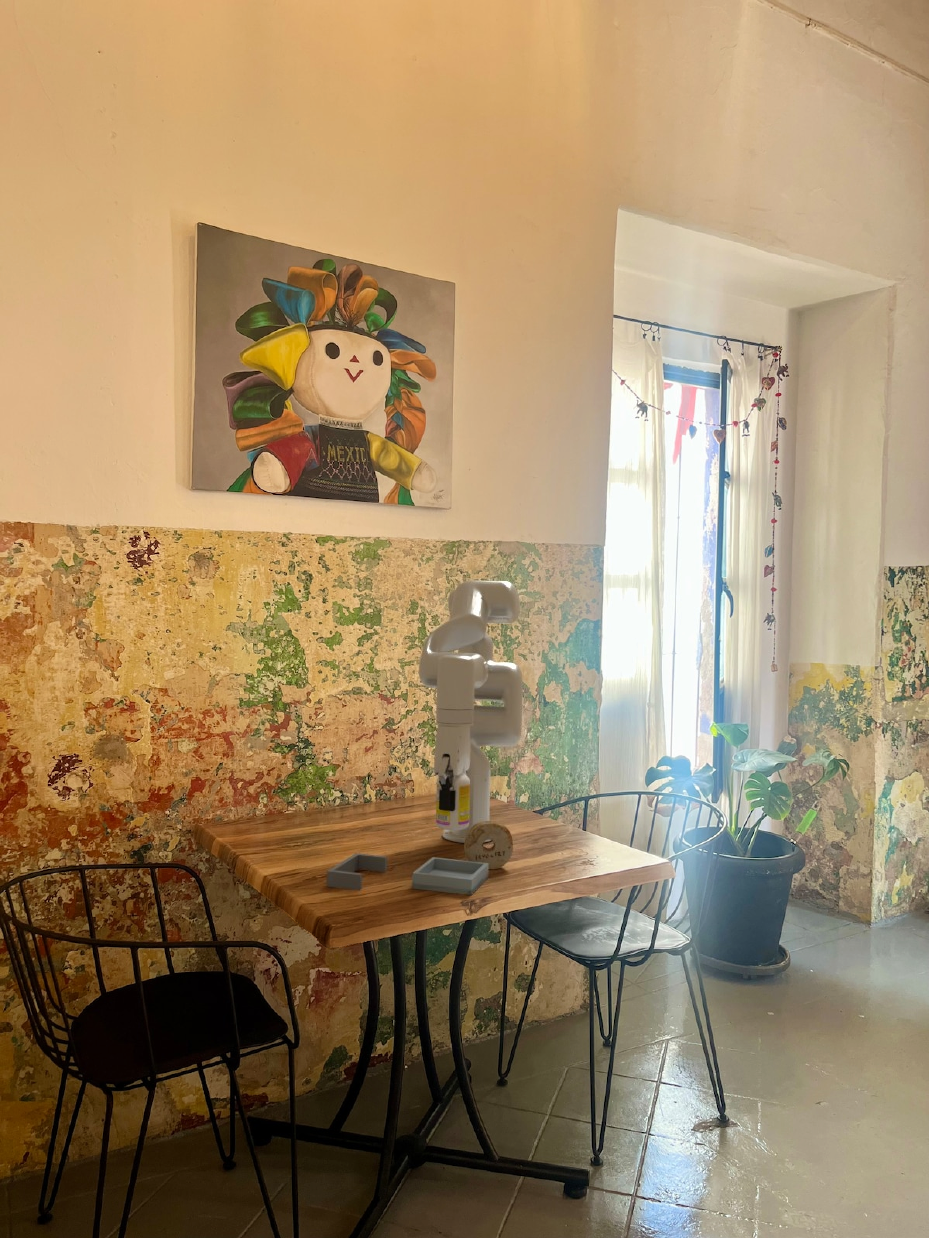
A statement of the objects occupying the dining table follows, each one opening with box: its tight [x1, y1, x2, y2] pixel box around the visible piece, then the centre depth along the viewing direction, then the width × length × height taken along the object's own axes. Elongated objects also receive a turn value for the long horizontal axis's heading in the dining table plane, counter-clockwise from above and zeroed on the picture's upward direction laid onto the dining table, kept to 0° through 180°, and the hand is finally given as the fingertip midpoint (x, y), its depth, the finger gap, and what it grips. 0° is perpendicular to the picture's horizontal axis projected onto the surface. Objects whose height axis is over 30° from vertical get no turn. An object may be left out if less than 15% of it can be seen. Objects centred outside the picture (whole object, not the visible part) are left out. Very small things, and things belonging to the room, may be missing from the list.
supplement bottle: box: [435, 765, 470, 830], centre depth 183 cm, size 7×7×13 cm
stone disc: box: [463, 820, 514, 870], centre depth 194 cm, size 10×4×10 cm, turn 94°
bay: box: [326, 852, 388, 891], centre depth 184 cm, size 14×7×3 cm, turn 163°
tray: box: [411, 856, 489, 896], centre depth 183 cm, size 12×12×3 cm
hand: (452, 805), depth 183 cm, fingers closed on supplement bottle, 6 cm apart
